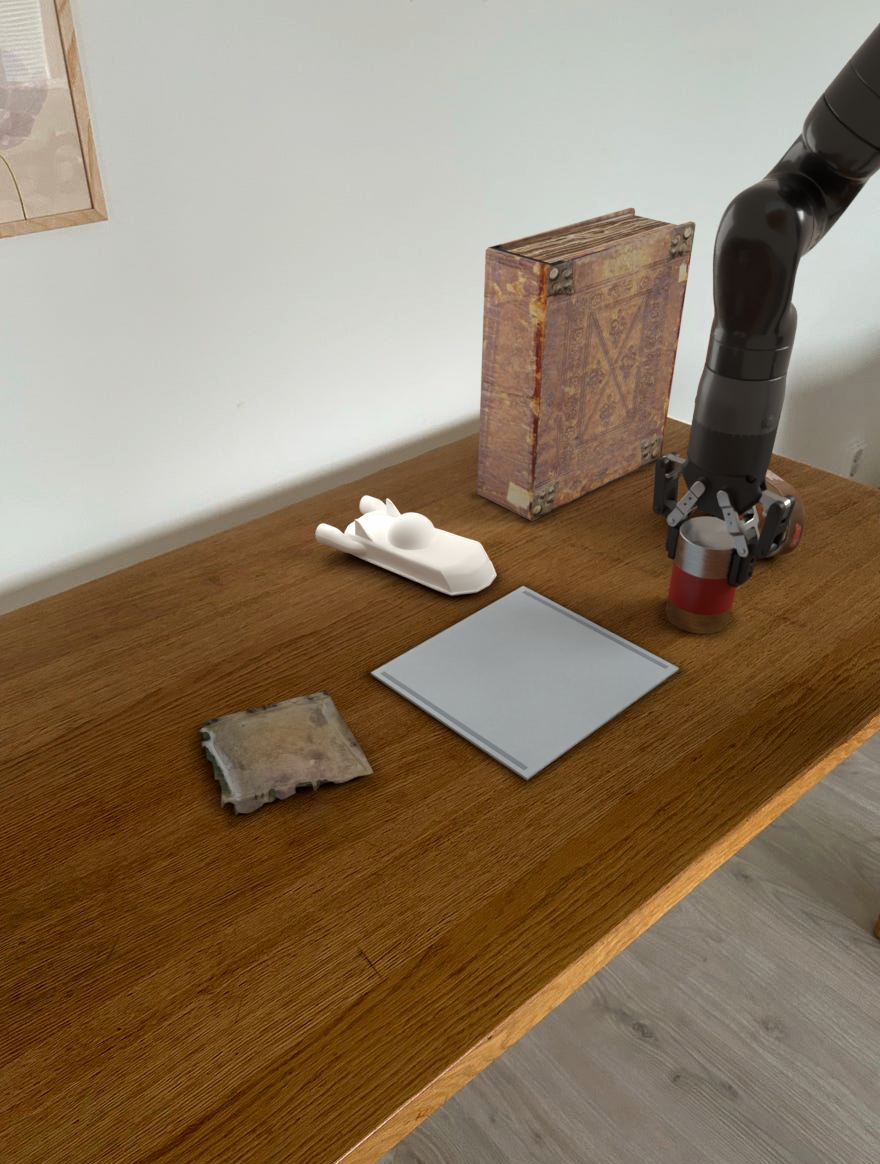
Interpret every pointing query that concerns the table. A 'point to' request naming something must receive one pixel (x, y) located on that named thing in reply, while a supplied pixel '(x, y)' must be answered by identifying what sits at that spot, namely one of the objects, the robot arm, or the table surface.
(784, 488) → the tin
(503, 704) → the square board
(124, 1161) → the table surface
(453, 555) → the white toy spaceship
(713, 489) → the robot arm
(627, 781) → the table surface
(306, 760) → the parchment
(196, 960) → the table surface
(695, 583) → the can
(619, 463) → the book
